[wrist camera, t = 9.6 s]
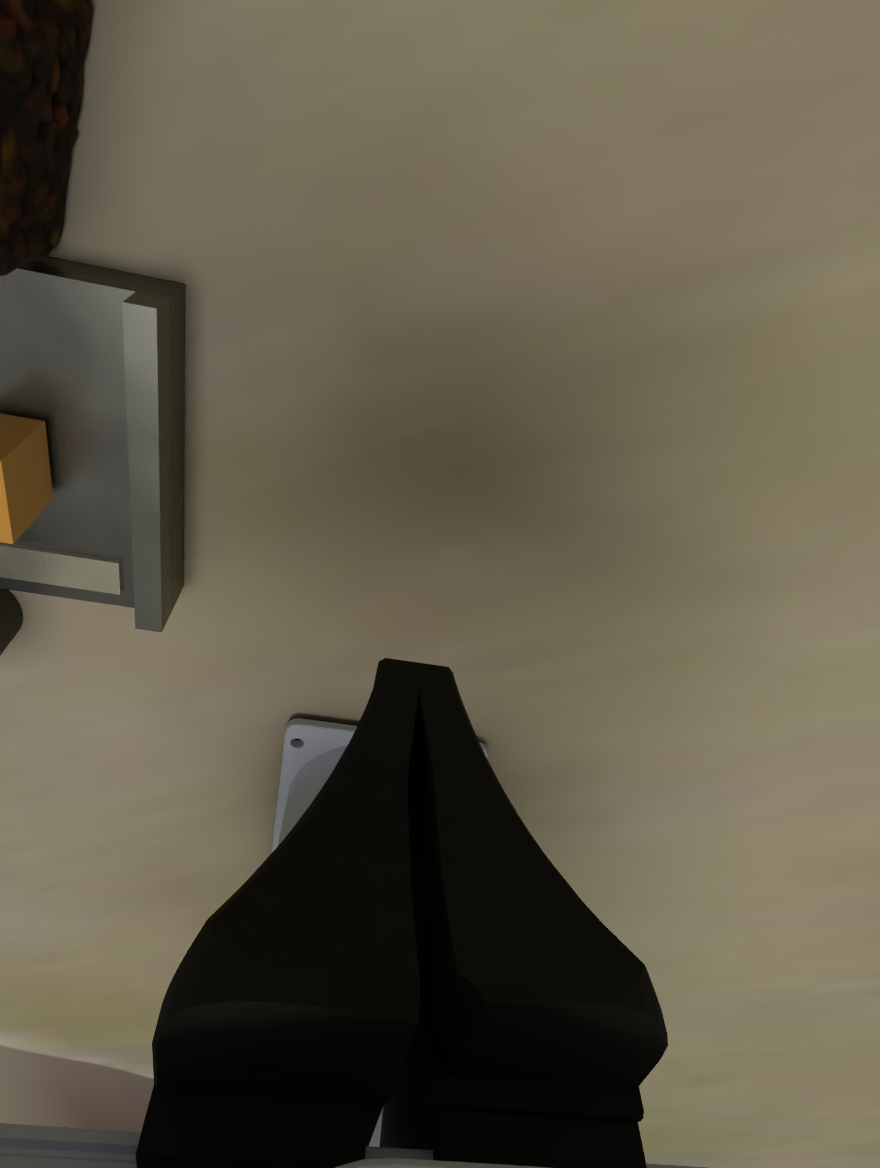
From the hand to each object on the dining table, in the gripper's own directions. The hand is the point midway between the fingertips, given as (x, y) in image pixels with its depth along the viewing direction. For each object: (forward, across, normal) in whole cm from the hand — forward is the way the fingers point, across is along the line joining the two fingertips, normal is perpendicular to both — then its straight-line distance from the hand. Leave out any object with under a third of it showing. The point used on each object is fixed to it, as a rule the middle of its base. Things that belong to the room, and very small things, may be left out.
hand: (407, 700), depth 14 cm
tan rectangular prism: (+9, +11, +1) cm, 14 cm away
